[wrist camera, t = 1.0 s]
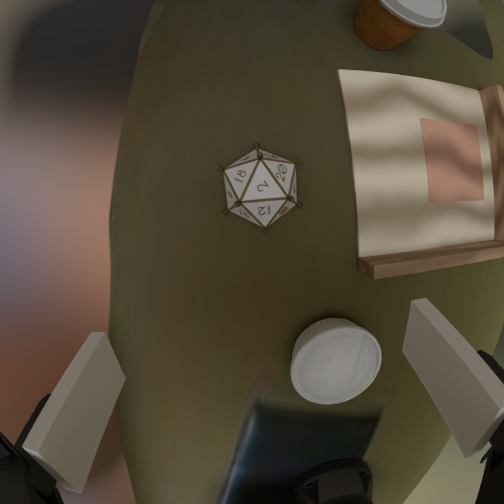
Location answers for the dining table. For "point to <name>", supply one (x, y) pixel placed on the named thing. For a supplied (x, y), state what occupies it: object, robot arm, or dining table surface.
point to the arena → (424, 172)
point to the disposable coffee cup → (396, 20)
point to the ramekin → (334, 361)
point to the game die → (261, 187)
